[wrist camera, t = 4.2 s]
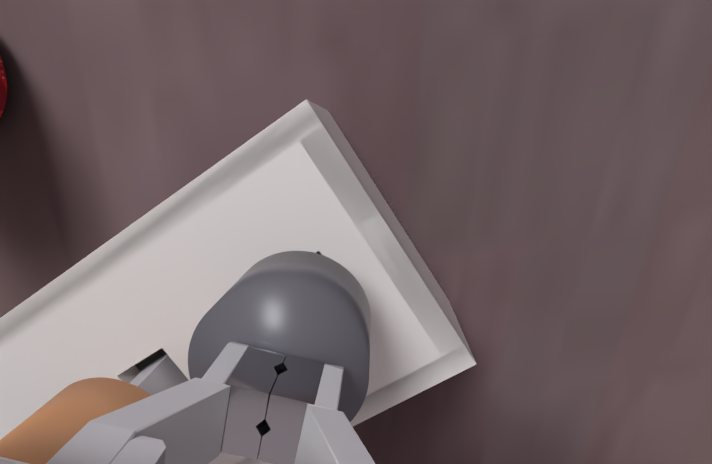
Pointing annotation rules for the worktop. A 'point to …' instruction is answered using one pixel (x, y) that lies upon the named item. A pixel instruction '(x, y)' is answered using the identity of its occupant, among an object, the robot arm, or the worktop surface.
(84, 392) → the knob middle
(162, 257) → the control box
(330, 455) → the robot arm
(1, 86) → the soda can
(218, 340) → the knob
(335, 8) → the worktop surface
